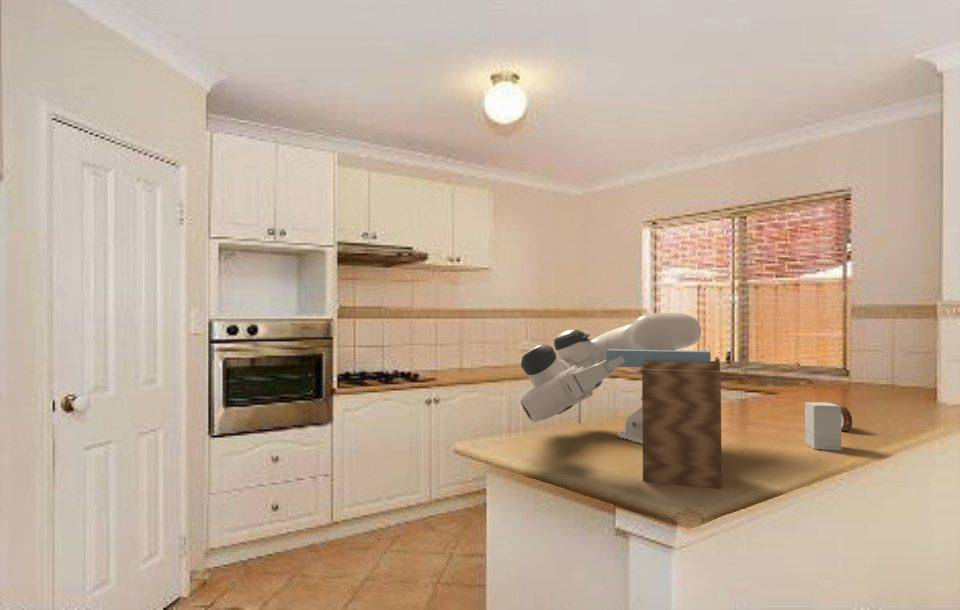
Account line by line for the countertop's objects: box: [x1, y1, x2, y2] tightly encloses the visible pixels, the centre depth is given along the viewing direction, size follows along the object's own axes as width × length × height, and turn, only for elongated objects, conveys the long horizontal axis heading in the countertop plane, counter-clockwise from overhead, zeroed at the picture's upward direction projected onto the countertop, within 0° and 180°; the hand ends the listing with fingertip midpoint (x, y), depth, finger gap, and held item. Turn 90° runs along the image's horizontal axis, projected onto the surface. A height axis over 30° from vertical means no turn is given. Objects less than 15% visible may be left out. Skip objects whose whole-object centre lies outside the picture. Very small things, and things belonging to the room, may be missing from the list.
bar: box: [606, 349, 712, 368], centre depth 141 cm, size 24×4×4 cm, turn 70°
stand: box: [641, 356, 723, 489], centre depth 139 cm, size 17×14×28 cm
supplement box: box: [804, 401, 842, 451], centre depth 168 cm, size 7×7×13 cm
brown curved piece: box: [826, 401, 853, 432], centre depth 194 cm, size 15×3×8 cm, turn 179°
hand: (626, 357), depth 143 cm, fingers open, 8 cm apart
